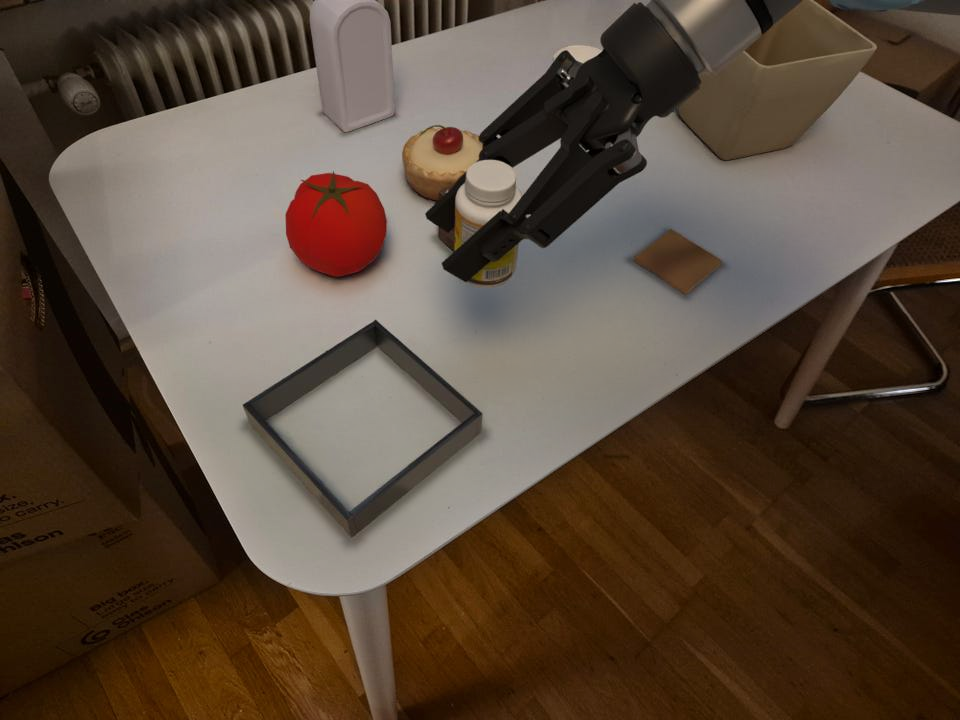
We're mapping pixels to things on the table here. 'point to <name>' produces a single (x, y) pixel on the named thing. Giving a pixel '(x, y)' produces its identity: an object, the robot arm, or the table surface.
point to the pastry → (439, 158)
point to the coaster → (678, 261)
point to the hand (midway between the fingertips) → (445, 247)
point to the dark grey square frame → (329, 366)
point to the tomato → (335, 224)
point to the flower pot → (777, 84)
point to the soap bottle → (353, 61)
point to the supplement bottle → (486, 214)
